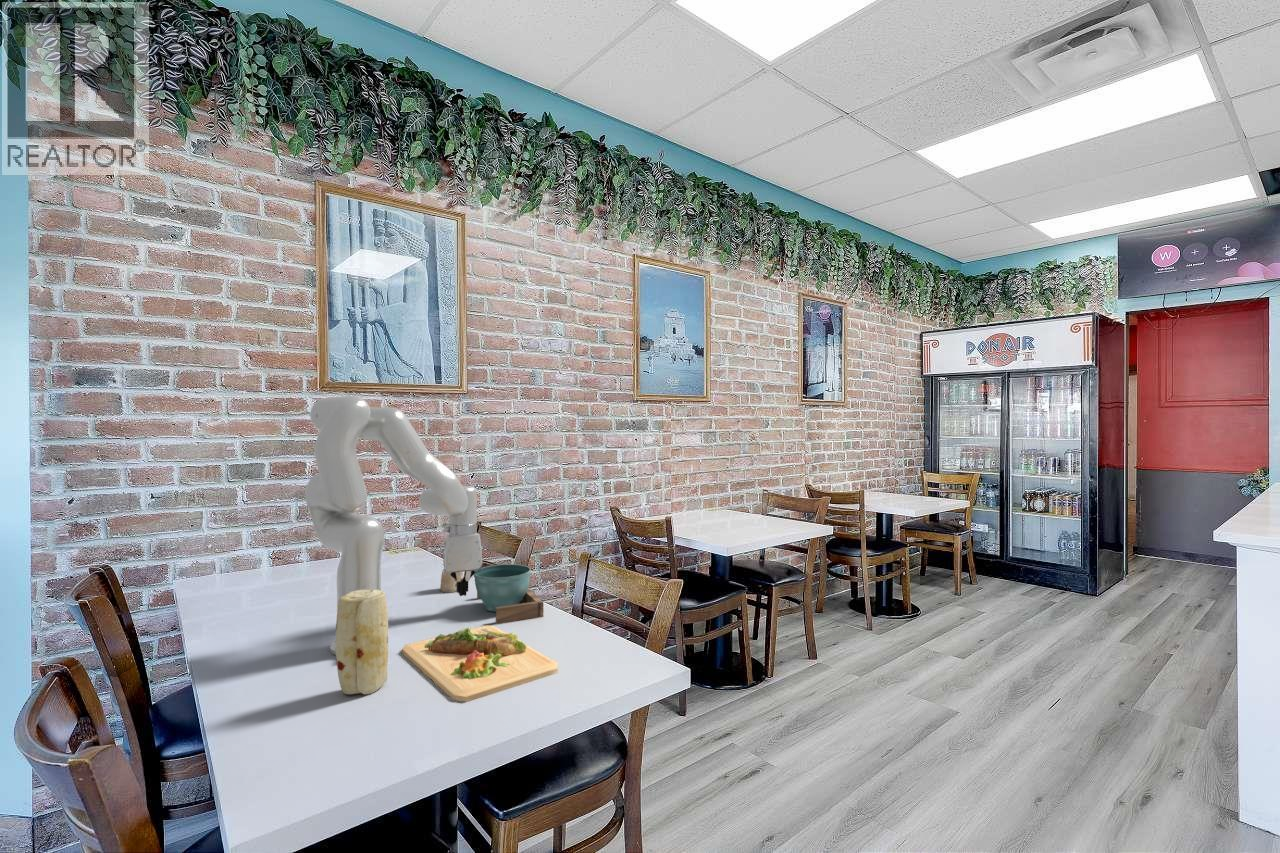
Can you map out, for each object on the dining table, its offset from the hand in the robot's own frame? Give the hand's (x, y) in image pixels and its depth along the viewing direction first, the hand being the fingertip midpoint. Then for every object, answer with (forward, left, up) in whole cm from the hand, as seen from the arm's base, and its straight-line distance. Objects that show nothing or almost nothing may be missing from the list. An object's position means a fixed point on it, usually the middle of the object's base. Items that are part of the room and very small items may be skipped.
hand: (462, 594), depth 167 cm
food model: (-41, +27, -5) cm, 49 cm away
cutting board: (-36, +3, -6) cm, 37 cm away
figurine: (+25, -1, -5) cm, 26 cm away
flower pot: (-1, -11, -5) cm, 12 cm away
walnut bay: (-1, -12, -5) cm, 13 cm away
